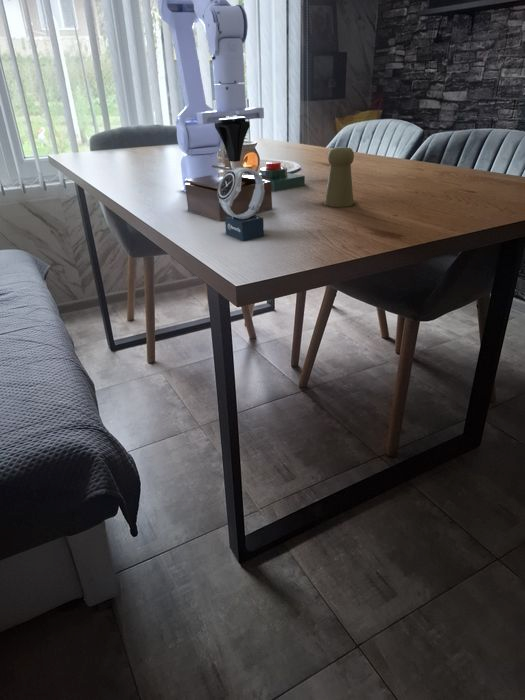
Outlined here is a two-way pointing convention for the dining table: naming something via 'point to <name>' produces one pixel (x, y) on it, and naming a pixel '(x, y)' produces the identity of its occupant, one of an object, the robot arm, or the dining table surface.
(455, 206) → the dining table surface
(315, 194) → the dining table surface
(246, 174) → the flap
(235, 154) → the robot arm
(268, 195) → the carton
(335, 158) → the olive green tall piece
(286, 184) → the button box
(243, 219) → the watch
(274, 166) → the button
